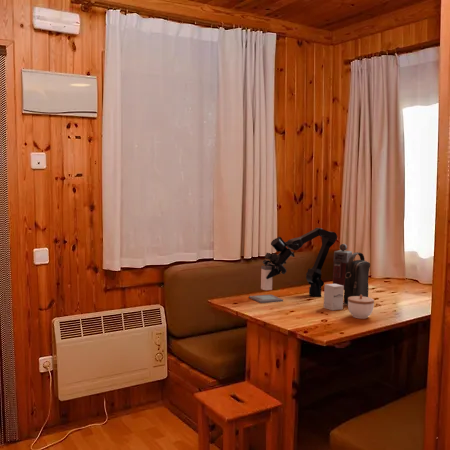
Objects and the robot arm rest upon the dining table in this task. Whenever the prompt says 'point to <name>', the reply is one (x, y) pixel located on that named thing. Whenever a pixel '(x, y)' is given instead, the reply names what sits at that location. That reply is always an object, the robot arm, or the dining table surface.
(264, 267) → the block
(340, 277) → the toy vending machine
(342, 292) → the supplement box
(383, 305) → the dining table surface
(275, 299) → the pad
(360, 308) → the lidded bowl
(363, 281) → the shoulder bag
